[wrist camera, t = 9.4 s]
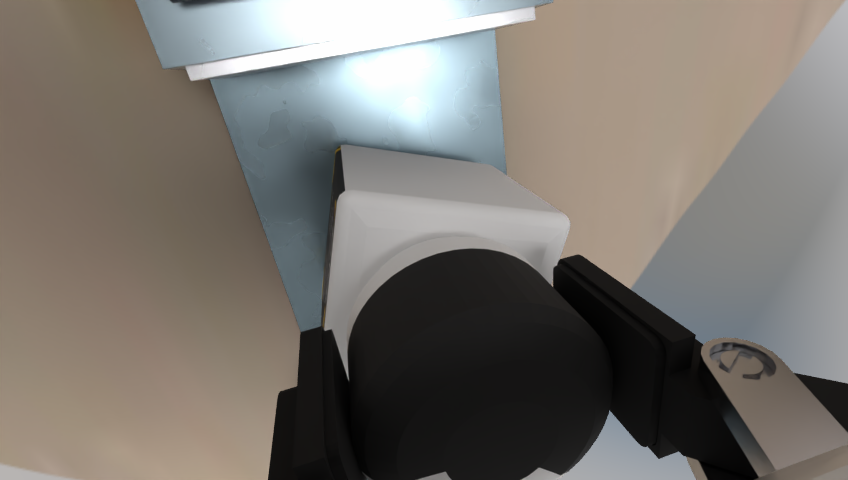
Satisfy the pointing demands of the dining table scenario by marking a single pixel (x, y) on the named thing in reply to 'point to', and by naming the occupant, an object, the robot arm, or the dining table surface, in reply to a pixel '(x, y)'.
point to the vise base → (353, 135)
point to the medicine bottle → (456, 323)
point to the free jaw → (308, 29)
